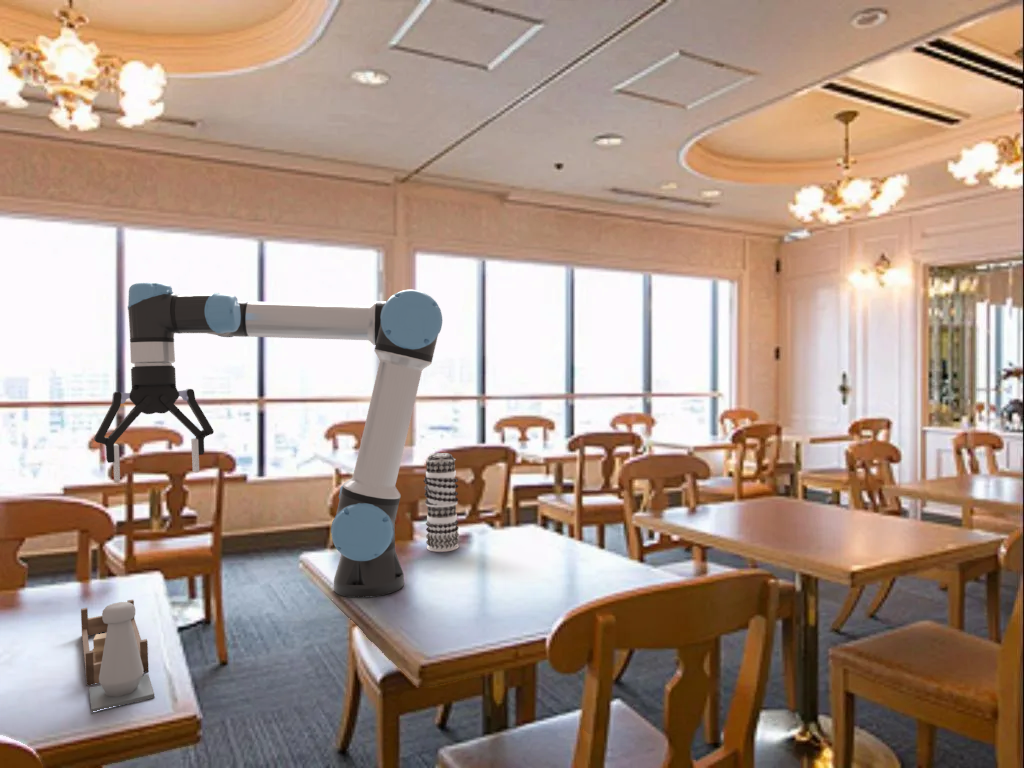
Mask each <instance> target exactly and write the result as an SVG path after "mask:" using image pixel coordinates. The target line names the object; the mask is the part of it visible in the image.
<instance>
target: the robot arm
mask: <svg viewBox="0 0 1024 768" xmlns="http://www.w3.org/2000/svg"><path fill="white" fill-rule="evenodd" d="M127 310H128V311H127V312H128V326H129V328H128V329H129V343H130V344H129V345H130V348H129V349H130V363H131V365H132V364H133V365H134V366H132V367H131V369H130V377H131V390H130V392H120V391H114V392H113V393H112V399H111V401H112V402H111V404H110V407H109V409H107V413H106V414H105V417H104V419H103V420H102V422H101V424H100V426H99V428H98V430H97V431H96V434H95V435H94V437H93V440H94V441H95V442H96V443H98V444H101V445H102V444H103V445H104V446H105V456H106V458H105V459H106V462H107V463H108V464H111V463H113V479H114V481H117V482H118V481H121V469H120V467H121V464H120V446H119V444H117V443H116V441H117V440H119V439H120V437H122V435H123V434H124V433H125V432H126V430H127V429H128V428H129V427H130V425H132V423H133V422H134V421H135V420H136V419H137V418H138V417H139V416H140V415H141V413H142V414H145V415H152V414H166V413H168V412H169V413H171V414H172V415H173V416H174V417H175V418H176V419H177V420H178V421H179V422H180V423H181V424H182V425H183V426H184V427H185V428H186V429H187V430H188V431H189V432H191V434H193V436H194V438H191V439H190V441H191V458H192V459H191V460H192V462H191V463H192V466H191V467H192V472H193V473H195V474H197V473H200V455H204V454H205V438H206V437H207V436H210V435H213V434H214V431H215V430H214V428H213V427H212V426H211V423H210V422H209V420H208V419H207V417H206V415H205V413H204V412H203V410H202V409H201V407H200V405H199V404H198V402H197V400H196V395H195V391H194V389H193V388H186V389H184V390H178V388H177V384H176V382H177V381H176V379H177V378H176V377H177V376H176V367H175V366H174V365H172V364H174V363H175V362H176V357H175V356H176V355H175V354H176V353H175V334H208V335H213V336H214V335H215V336H218V337H221V338H222V337H223V338H233V337H241V338H244V337H245V338H246V337H248V338H250V337H253V338H254V337H255V338H278V339H279V338H280V339H282V338H286V339H316V340H317V339H319V340H346V341H348V340H349V341H350V340H351V341H352V340H355V341H368V342H370V343H371V344H372V345H374V346H375V347H374V353H375V354H376V355H377V357H378V359H379V363H378V368H377V372H376V376H375V380H374V385H373V390H372V393H371V398H370V401H369V406H368V409H367V410H368V411H367V415H366V420H365V424H364V428H363V431H362V436H361V441H360V445H359V450H358V454H357V458H356V462H355V467H354V471H353V475H352V477H351V478H350V479H349V480H347V481H346V482H344V483H343V484H342V485H341V486H340V487H339V494H338V499H339V501H338V506H337V509H336V515H335V516H334V518H333V520H332V522H331V526H330V527H331V528H330V533H331V538H332V539H331V540H332V542H333V543H332V544H333V545H334V547H335V548H336V550H337V551H338V553H340V557H339V561H338V564H337V568H336V572H335V574H334V579H333V590H334V592H335V594H337V595H339V596H343V597H348V598H373V597H379V596H385V595H389V594H392V593H394V592H395V593H396V592H397V591H399V590H400V589H402V588H403V587H404V586H405V574H404V570H403V568H402V566H401V563H400V560H399V557H398V554H397V552H396V551H397V550H396V532H395V531H396V530H395V527H396V526H395V523H396V518H397V514H398V509H399V504H400V501H401V500H400V499H401V493H400V491H399V490H398V489H397V487H396V483H397V482H398V481H397V480H398V475H399V472H400V468H401V462H402V458H403V455H404V450H405V446H406V441H407V438H408V437H407V436H408V433H409V429H410V424H411V419H412V415H413V411H414V406H415V403H416V398H417V395H418V390H419V384H420V381H421V377H422V373H423V370H424V369H425V368H427V367H429V366H430V365H432V362H433V358H434V354H435V349H436V345H437V342H438V341H437V340H438V337H439V334H440V332H441V330H442V326H443V314H442V310H441V308H440V306H439V304H438V302H437V301H436V300H435V299H434V298H433V297H432V296H430V295H429V294H428V293H425V292H424V291H421V290H418V289H417V290H416V289H404V290H401V291H397V292H396V293H394V294H392V295H391V296H390V297H389V298H388V299H387V300H385V301H383V300H382V301H381V300H380V301H379V300H378V301H377V300H375V301H372V303H371V304H370V305H365V304H363V305H361V304H360V305H359V304H338V303H337V304H335V303H334V304H332V303H331V304H330V303H307V302H306V303H305V302H303V303H301V302H276V301H275V302H273V301H271V302H270V301H248V300H247V301H245V300H244V301H243V300H238V298H237V296H235V295H234V294H232V293H219V292H214V293H199V294H198V293H197V294H196V293H195V294H194V293H193V294H192V293H191V294H179V293H178V294H177V293H174V292H173V288H172V286H171V285H169V284H168V283H161V282H159V283H158V282H138V283H134V284H131V285H130V287H129V289H128V305H127ZM179 397H181V399H182V400H183V401H186V402H187V405H188V407H189V408H190V409H191V412H192V413H193V414H194V416H195V418H196V419H197V422H198V423H199V425H200V426H201V428H202V430H200V428H198V427H197V426H196V425H195V424H194V423H193V422H192V420H190V419H189V418H188V417H187V416H186V415H185V414H184V413H183V412H182V411H181V410H180V408H178V406H176V405H175V403H176V402H177V400H178V399H179ZM128 399H129V400H130V401H131V402H132V404H133V405H134V407H132V409H131V410H130V412H129V413H127V415H126V416H125V418H124V419H123V420H122V421H121V422H120V423H119V424H118V425H117V426H116V428H114V430H113V431H112V432H111V433H110V435H109V436H108V437H106V435H107V432H108V431H109V429H110V427H111V424H112V423H113V421H114V419H115V417H116V416H117V414H118V412H119V411H120V410H119V409H120V406H121V405H123V404H125V403H126V402H127V400H128Z"/></svg>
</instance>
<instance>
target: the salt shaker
mask: <svg viewBox="0 0 1024 768" xmlns="http://www.w3.org/2000/svg"><path fill="white" fill-rule="evenodd" d="M101 612H102V613H101V614H102V615H101V616H102V620H103V622H104V623H106V624H108V627H107V632H105V633H106V639H105V645H104V651H103V657H102V663H101V668H100V674H99V682H100V683H99V684H100V685H101V686H102V688H103V690H104V691H105V693H106V695H107V696H113V697H119V696H122V695H126V694H129V693H132V692H133V691H134V690H135V689H136V688H137V687H138V685H139V683H140V680H141V678H142V676H143V675H144V673H143V671H144V669H143V665H142V661H141V657H140V653H139V649H138V645H137V641H136V637H135V633H134V629H133V626H132V622H131V619H133V618H134V619H135V616H136V606H135V604H134V605H133V604H132V603H130V602H127V601H120V602H115V603H112V604H109V605H106V607H104V609H103V610H102V611H101Z"/></svg>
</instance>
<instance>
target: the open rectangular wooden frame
mask: <svg viewBox="0 0 1024 768" xmlns="http://www.w3.org/2000/svg"><path fill="white" fill-rule="evenodd" d="M126 602H130V603H132V604H133V605H134V606H135V600H134V599H128V600H127V601H126ZM88 614H89V612H88V607H85V608H80V621H81V640H82V641H83V642H82V650H83V661H84V662H85V663H84V673H85V681H86V686H87V685H89V686H92V685H91V684H93V685H96V684H95V683H97V684H100V683H99V674H100V668H101V663H102V662H97V663H93V649H92V650H90V644H89V643H90V642H89V636H88V635H90V636H93V634H95V635H96V634H98V633H100V634H102V632H105V633H107V627H108V624H106V623H104V622H103V620H102V615H99V616H94V617H92V616H91V617H89V616H88ZM135 619H136V618H135V617H134V618H133V619H131V622H132V626H133V629H134V633H135V637H136V641H137V645H138V649H139V653H140V657H141V661H142V665H143V669H144V671H143V674H145V673H149V648H148V647H149V646H148V645H149V644H148V639H147V638H145V639H142V637H141V635H140V632H139V628H138V625H137V622H136V620H135Z"/></svg>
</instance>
